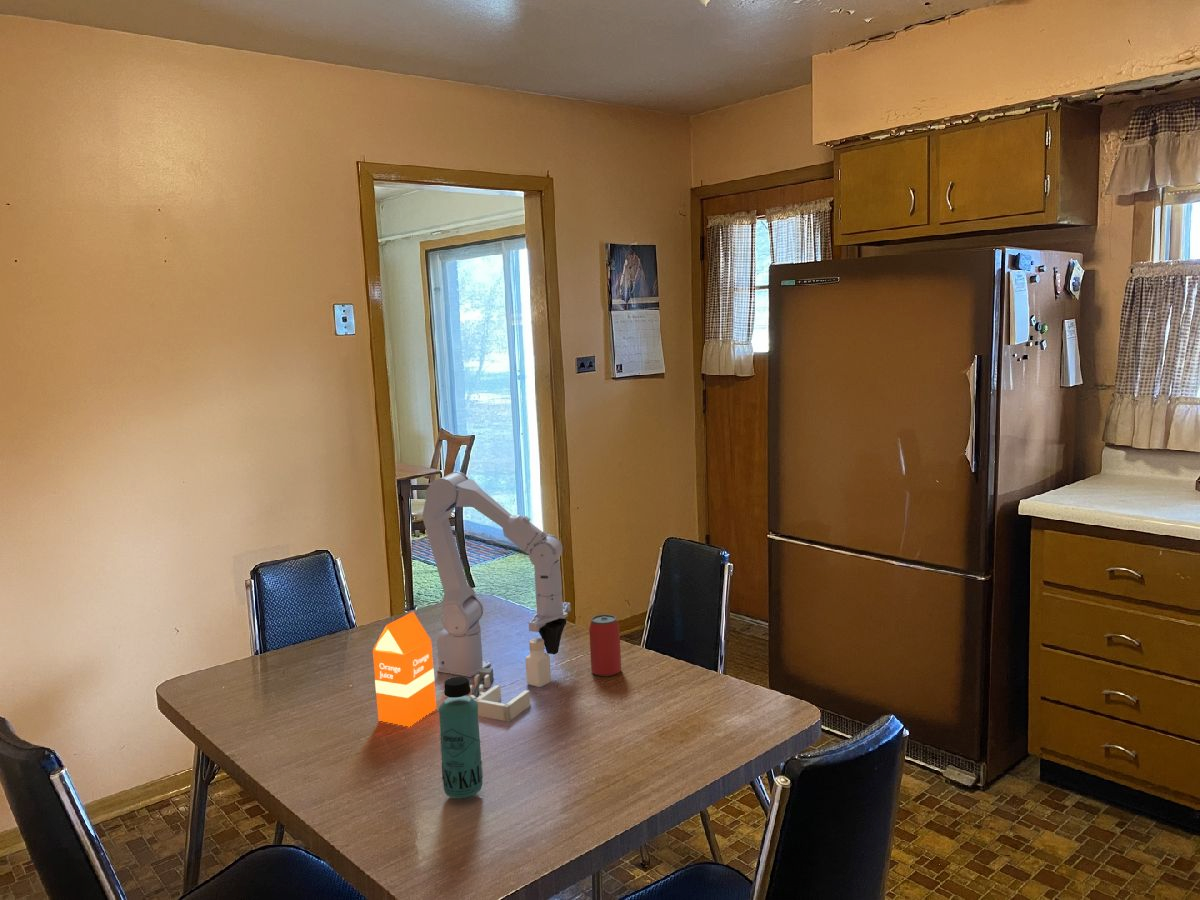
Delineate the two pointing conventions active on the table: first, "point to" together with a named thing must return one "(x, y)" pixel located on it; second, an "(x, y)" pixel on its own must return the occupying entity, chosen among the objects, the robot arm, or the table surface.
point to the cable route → (483, 673)
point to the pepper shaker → (537, 664)
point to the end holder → (501, 704)
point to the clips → (481, 687)
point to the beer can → (605, 645)
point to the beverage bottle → (460, 740)
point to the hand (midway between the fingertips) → (552, 652)
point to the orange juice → (404, 672)
